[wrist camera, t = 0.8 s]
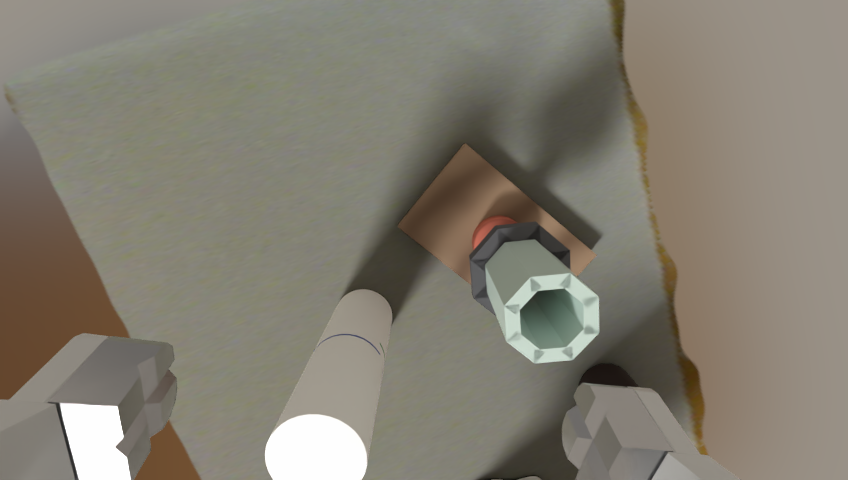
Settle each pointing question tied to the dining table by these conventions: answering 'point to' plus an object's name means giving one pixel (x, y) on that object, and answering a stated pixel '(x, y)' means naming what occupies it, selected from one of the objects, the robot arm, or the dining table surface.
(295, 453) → the cylindrical container
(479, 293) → the o ring
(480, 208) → the pipe stand
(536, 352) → the sleeve
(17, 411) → the robot arm
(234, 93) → the dining table surface
